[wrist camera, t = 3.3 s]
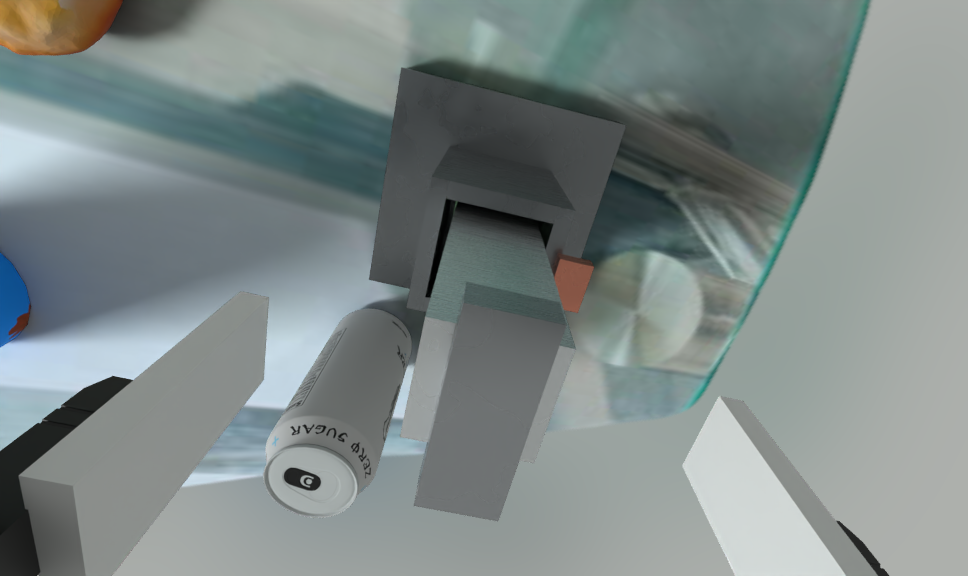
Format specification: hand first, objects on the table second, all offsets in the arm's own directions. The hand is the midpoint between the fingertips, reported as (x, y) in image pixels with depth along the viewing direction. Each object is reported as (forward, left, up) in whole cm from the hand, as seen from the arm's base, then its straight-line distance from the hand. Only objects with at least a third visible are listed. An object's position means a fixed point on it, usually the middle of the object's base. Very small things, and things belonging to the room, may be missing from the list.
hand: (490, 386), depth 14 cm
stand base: (0, 0, -22) cm, 22 cm away
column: (0, 0, -19) cm, 19 cm away
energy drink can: (+13, -6, -22) cm, 26 cm away
